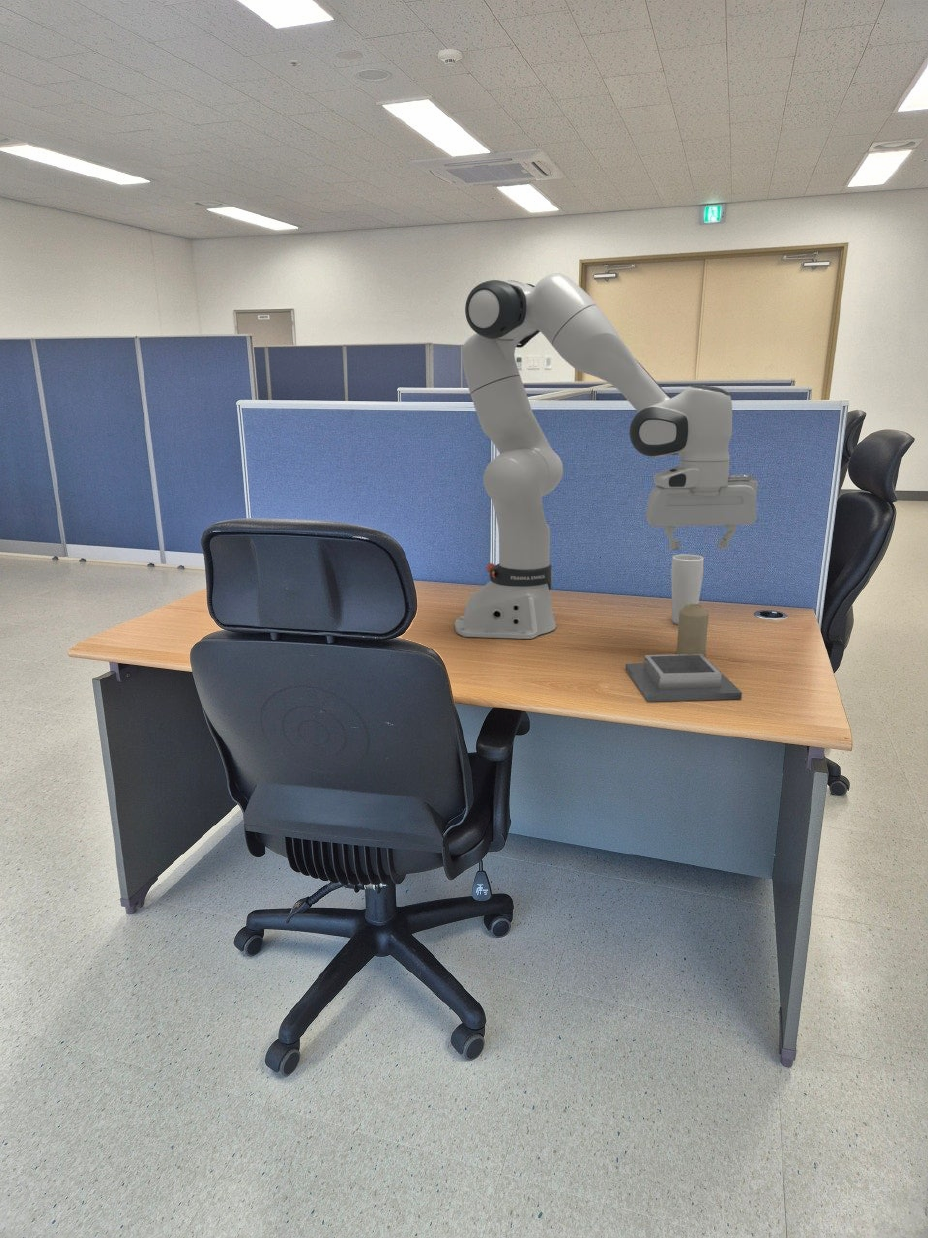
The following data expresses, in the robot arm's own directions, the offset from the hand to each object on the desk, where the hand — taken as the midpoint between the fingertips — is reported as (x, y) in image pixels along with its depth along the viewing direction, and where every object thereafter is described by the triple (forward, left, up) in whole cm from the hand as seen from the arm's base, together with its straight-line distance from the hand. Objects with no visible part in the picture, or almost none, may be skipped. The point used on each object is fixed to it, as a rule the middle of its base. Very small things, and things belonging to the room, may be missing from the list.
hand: (698, 548), depth 150 cm
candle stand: (-7, -16, -21) cm, 27 cm away
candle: (0, 0, -21) cm, 21 cm away
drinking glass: (+5, +21, -21) cm, 30 cm away
